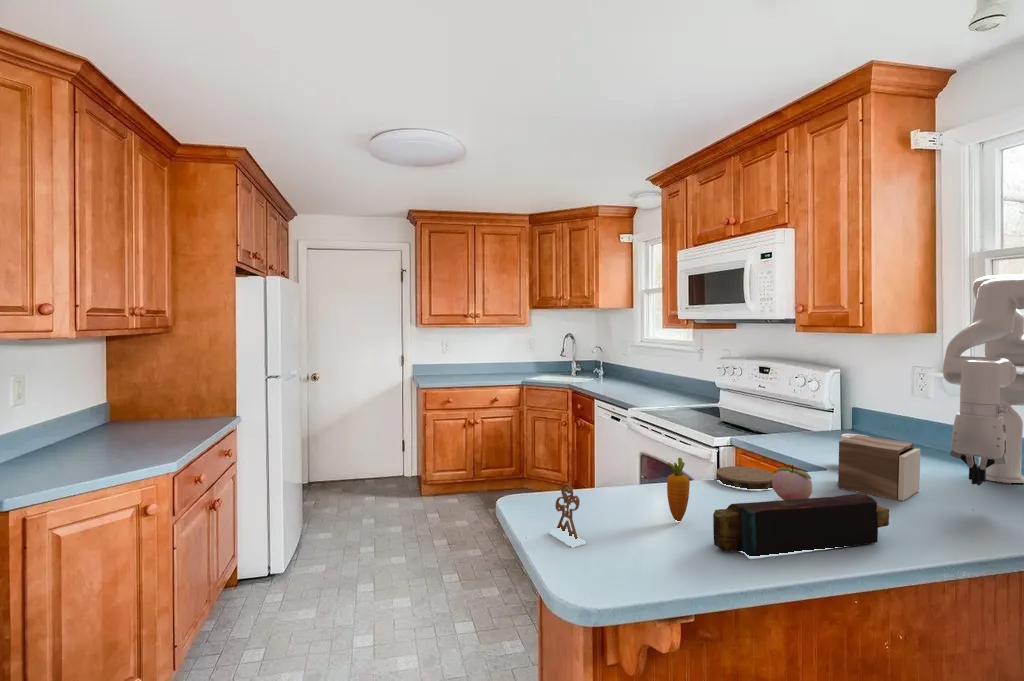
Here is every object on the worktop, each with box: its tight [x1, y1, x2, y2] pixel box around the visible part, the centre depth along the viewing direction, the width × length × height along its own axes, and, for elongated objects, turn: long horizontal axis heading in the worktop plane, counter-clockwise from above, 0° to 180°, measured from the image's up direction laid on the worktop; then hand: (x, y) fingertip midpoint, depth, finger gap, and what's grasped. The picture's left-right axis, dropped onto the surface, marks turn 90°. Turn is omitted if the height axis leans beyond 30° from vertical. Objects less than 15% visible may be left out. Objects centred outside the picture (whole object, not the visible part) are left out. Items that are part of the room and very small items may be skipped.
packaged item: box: [712, 493, 890, 556], centre depth 117 cm, size 39×10×10 cm, turn 103°
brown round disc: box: [715, 465, 775, 489], centre depth 161 cm, size 16×16×3 cm
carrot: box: [666, 457, 691, 522], centre depth 128 cm, size 5×5×15 cm
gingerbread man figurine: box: [555, 482, 580, 539], centre depth 119 cm, size 9×4×12 cm, turn 29°
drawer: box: [897, 447, 921, 502], centre depth 154 cm, size 14×14×11 cm
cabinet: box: [837, 434, 915, 501], centre depth 155 cm, size 14×14×13 cm
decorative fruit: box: [772, 465, 813, 500], centre depth 142 cm, size 9×8×10 cm
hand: (977, 483), depth 138 cm, fingers closed
